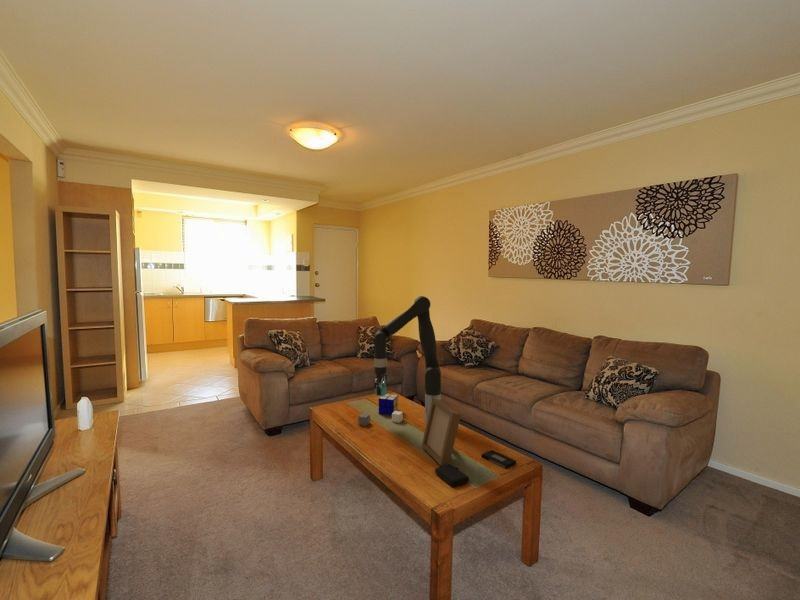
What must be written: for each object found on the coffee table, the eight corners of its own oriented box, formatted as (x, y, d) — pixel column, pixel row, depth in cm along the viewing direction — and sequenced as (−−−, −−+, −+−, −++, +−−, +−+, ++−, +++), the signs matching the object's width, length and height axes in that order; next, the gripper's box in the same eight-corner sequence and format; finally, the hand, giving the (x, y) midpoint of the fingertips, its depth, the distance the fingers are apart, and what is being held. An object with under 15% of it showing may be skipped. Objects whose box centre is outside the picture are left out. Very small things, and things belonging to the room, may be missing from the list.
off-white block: (402, 420, 238) (402, 411, 238) (399, 422, 234) (399, 414, 234) (395, 418, 241) (395, 410, 240) (391, 421, 236) (391, 413, 236)
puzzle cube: (378, 414, 248) (378, 398, 248) (383, 408, 258) (383, 393, 257) (393, 415, 245) (393, 399, 245) (398, 410, 255) (398, 395, 254)
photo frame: (440, 467, 181) (441, 414, 179) (421, 447, 201) (422, 399, 199) (469, 462, 186) (470, 410, 184) (447, 443, 206) (448, 396, 204)
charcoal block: (369, 422, 234) (369, 414, 234) (365, 425, 229) (365, 417, 229) (362, 421, 236) (362, 413, 236) (358, 424, 231) (358, 416, 231)
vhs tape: (505, 470, 180) (505, 465, 180) (481, 458, 191) (481, 454, 191) (516, 465, 184) (516, 460, 184) (491, 453, 196) (491, 449, 196)
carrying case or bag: (473, 483, 169) (452, 467, 181) (473, 476, 168) (452, 461, 181) (452, 489, 163) (433, 473, 176) (452, 482, 163) (433, 467, 176)
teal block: (386, 394, 235) (386, 385, 234) (382, 396, 230) (382, 388, 230) (379, 393, 237) (378, 384, 236) (375, 395, 232) (375, 387, 232)
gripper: (380, 368, 224) (381, 398, 225) (391, 363, 237) (391, 391, 239) (369, 367, 227) (369, 396, 228) (380, 362, 240) (380, 389, 242)
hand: (380, 393), depth 234 cm, fingers closed on teal block, 5 cm apart
